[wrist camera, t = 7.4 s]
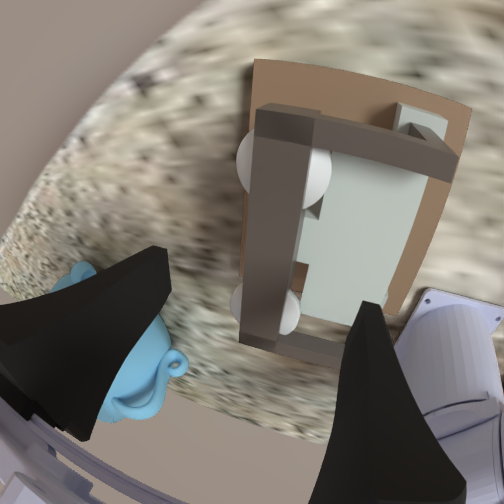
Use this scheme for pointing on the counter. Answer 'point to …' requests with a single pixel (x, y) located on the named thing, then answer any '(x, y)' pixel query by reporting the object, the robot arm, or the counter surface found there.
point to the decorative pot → (136, 366)
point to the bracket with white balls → (294, 206)
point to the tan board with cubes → (361, 190)
